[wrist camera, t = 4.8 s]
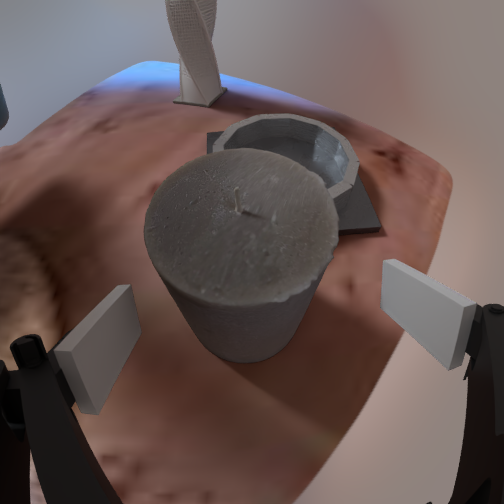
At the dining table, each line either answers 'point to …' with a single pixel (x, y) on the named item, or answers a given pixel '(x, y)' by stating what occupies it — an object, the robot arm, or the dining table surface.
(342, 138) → the duct collar
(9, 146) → the dining table surface
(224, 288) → the pillar candle
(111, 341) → the robot arm
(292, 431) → the dining table surface
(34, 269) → the dining table surface
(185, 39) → the skyscraper
